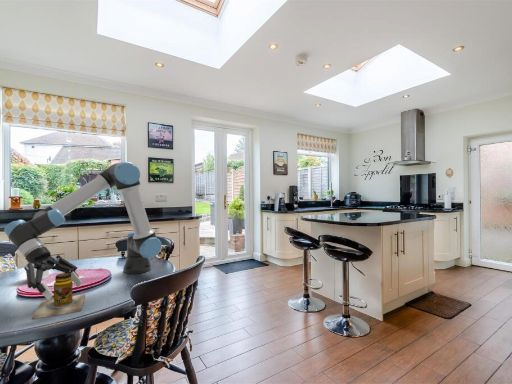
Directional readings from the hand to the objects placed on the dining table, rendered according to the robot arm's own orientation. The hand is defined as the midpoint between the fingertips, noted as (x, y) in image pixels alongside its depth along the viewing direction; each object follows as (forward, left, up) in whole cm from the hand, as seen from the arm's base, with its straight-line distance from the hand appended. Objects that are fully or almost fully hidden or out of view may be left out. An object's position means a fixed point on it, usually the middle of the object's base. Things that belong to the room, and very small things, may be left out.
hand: (66, 290), depth 105 cm
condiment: (+2, -2, -6) cm, 6 cm away
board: (+2, -1, -7) cm, 7 cm away
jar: (+19, -47, -7) cm, 51 cm away
